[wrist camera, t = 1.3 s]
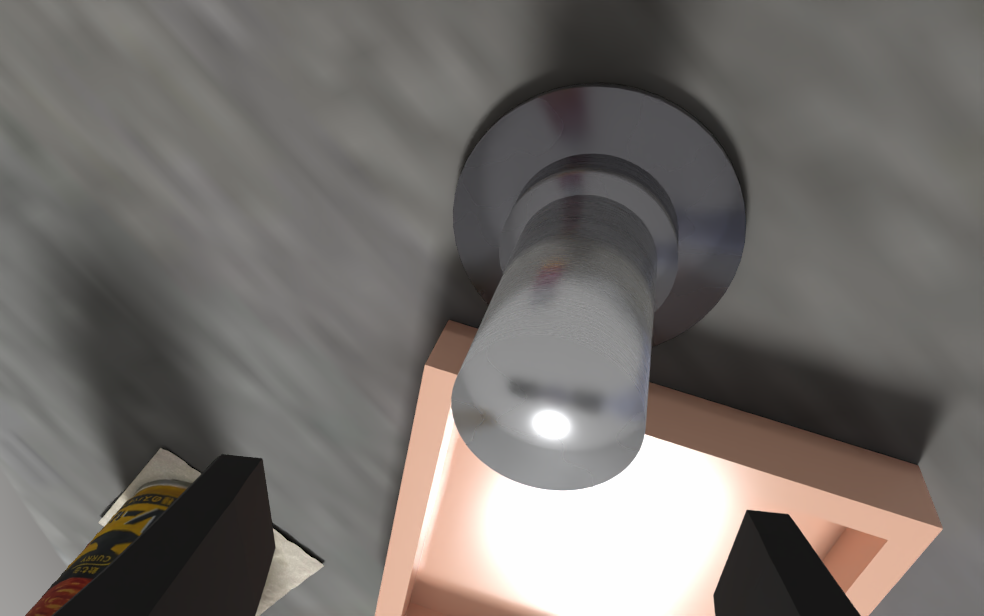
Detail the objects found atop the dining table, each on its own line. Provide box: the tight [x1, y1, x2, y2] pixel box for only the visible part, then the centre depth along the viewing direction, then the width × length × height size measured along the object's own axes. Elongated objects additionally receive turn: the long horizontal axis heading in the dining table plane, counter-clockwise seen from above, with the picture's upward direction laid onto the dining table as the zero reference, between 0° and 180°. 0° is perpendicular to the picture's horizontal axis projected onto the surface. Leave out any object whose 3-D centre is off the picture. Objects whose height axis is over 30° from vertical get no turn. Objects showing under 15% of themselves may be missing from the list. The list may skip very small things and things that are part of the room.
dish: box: [375, 320, 943, 616], centre depth 25 cm, size 15×15×2 cm
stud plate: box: [453, 83, 746, 346], centre depth 20 cm, size 8×8×1 cm
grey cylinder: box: [451, 153, 679, 491], centre depth 17 cm, size 5×5×8 cm
